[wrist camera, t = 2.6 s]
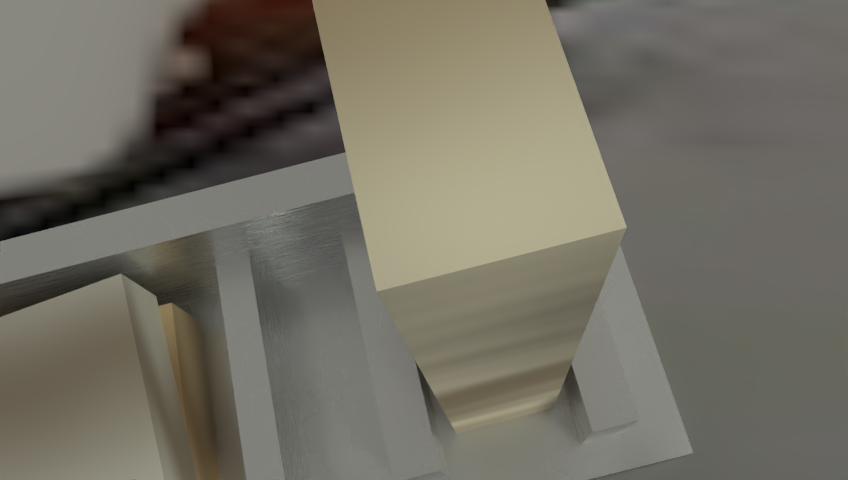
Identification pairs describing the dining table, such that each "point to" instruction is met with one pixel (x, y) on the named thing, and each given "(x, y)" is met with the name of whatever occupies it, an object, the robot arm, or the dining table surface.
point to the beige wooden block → (473, 192)
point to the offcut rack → (343, 342)
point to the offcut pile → (104, 389)
